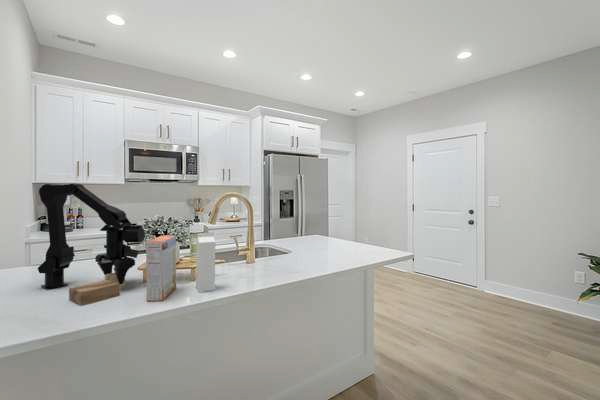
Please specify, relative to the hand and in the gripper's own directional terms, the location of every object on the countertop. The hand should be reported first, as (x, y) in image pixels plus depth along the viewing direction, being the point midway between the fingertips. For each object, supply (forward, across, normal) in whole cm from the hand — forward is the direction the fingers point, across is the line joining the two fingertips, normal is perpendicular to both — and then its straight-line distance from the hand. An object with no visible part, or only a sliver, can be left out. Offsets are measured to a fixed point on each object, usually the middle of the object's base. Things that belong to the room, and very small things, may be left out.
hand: (114, 281), depth 115 cm
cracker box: (+2, -23, -5) cm, 24 cm away
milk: (+2, -31, -18) cm, 36 cm away
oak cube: (+2, 0, 0) cm, 2 cm away
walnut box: (+2, -7, +10) cm, 12 cm away
